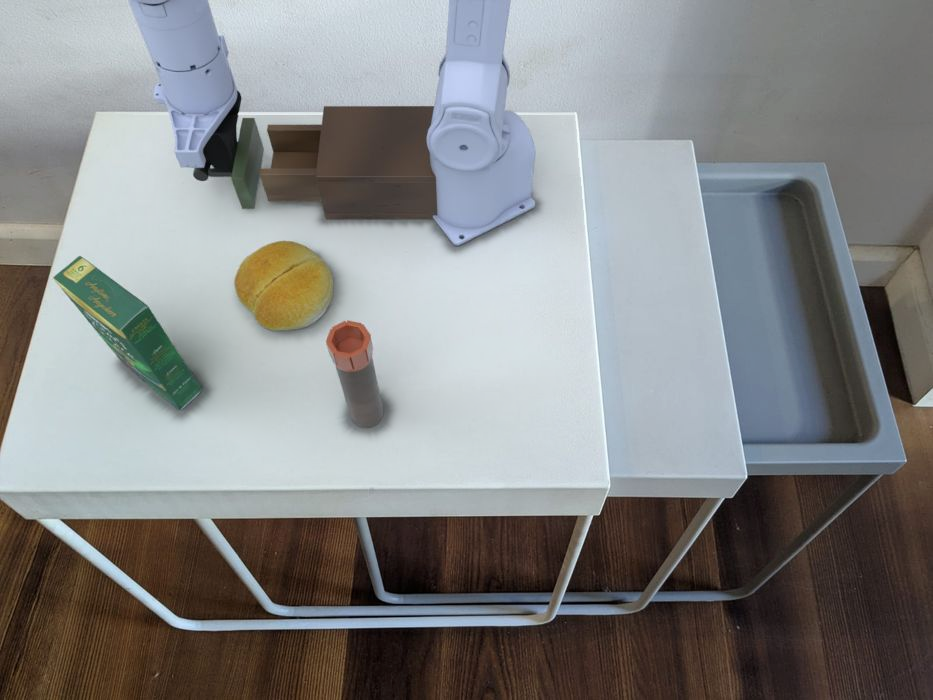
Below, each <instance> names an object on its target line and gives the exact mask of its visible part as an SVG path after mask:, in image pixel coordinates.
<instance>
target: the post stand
mask: <svg viewBox="0 0 933 700" xmlns="http://www.w3.org/2000/svg"><path fill="white" fill-rule="evenodd" d="M335 370H336V372H337V373H336V374H337V376H338V380H339V382H340V383H339V384H340V386H341V389H342V393H343V397H344V399H345V403H346V407H347V410H348V413H349V417H350V419H351V421H352V423H353V424H355V425H356V426H357V427H358V428H362V429H371V428H373V427H375V426H376V425H378V424H379V423H380V422H381V421H382V419H383V417H384V407H383V402H382V398H381V393H380V392H381V391H380V387H379V382H378V378H377V373H376V368H375V363H374V358H373V357H372V359H371V361H370V362H369V364H368V365H367V366H366V367H364V368H363V369H361V370H359V371H355V372H346V371H343V370H341V369H339V368H338V367H336V366H335Z"/></svg>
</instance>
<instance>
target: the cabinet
mask: <svg viewBox="0 0 933 700" xmlns="http://www.w3.org/2000/svg"><path fill="white" fill-rule="evenodd" d="M433 110H434V105H352V106H351V105H344V106H343V105H325V106H323V109H322V119H321V125H322V127H321V135H320V144H319V152H318V161H317V169H316V180H317V185H318V189H319V193H320V197H321V201H320V202H321V205H322V209H323V213H324V218H325V220H434V219H433V215H437V190H436V176H435V174H434V173H433V171H432V168H431V164H430V151H429V149H428V147H427V133H428V129H429V128H430V126H431V121H432V116H433Z"/></svg>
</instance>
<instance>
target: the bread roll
mask: <svg viewBox="0 0 933 700" xmlns="http://www.w3.org/2000/svg"><path fill="white" fill-rule="evenodd" d="M334 288H335V287H334V278H333V273H332V271H331V268H330V267H329V265H328V264H327V262H325V261H324V259H322V258H321V257H320V256H319V255H318V254H317V253H315V252H314V251H313V250H312V249H310V248H309V247H308V246H306V245H303V244H301V243H298V242H295V241H291V240H279V241H274V242H270V243H268V244H266V245H264V246H261V247H260V248H259V249H256V250H255V251H254V252H252V253H251V254H250V255H247V256H246V257H245V258H244V259H243V260H242V261H241V262H240V264H239V266H238V269H237V270H236V274H235V277H234V289H235V292H236V295H237V298H238V299H239V301H240V302H241V304H242V305H243V306H245V308H247V310H249V311H250V312H251V313H252V314H253V315H254V318H255V320H256V322H257V323H258V324H259V325H260V326H261V327H263V328H264V329H267V330H268V331H274V332H278V331H290V330H298V329H303V328H307V327H309V326H311V325H313V324H314V323H316V322H317V321H318V320H319V319H320V318H321V317H322V316H323V315H324V314H325V313H326V311H327V309H328V308H329V306H330V305H331V302H332V299H333V295H334Z"/></svg>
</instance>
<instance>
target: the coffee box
mask: <svg viewBox="0 0 933 700" xmlns="http://www.w3.org/2000/svg"><path fill="white" fill-rule="evenodd" d="M52 279H53V281H54V283H56V284H57V285H58V287H59V288H60V289H61V290H62V291H63V292H64V294H65V295H66V296H67V297H68V299H69V300H70V301H71V303H73V305H74V306H75V307H76V309H78V311H79V312H80V313H81V314H82V316H83V317H84V318H85V319H86V320H87V322H88V323H89V324H90V325H91V327H92V328H93V329H94V331H96V333H97V334H98V335H99V336H100V337H101V339H102V340H103V341H104V342H105V344H106V345H107V346H108V347H109V348H110V350H111V351H112V352H113V354H115V356H116V357H117V358H118V359H119V361H120V362H121V364H123V365H124V366H125V367H127V369H129V370H130V371H131V372H132V373H134V374H135V375H136V377H138V378H139V379H141V380H142V381H143V382H144V383H146V385H148V386H149V387H150V388H151V389H152V390H154V391H155V392H156V393H157V394H159V396H161V397H162V398H163V399H164V400H165V401H166V402H168V403H170V404H171V405H172V406H173V407H174V408H176V409H177V410H178V411H182V410H183V409H184V408H186V407H187V406H188V405H189V404H190V403H191V402H192V401H194V399H196V398H197V396H198V395H200V393H201V392H202V390H203V389H202V386H201V385H200V383H199V382H198V381H197V379H196V377H195V376H194V375H193V373H192V371H191V370H190V368H189V367H188V365H187V364H186V362H185V361H184V359H183V358H182V356H181V355H180V353H179V352H178V350H177V348H176V347H175V346H174V344H173V342H172V341H171V340H170V338H169V336H168V334H167V333H166V331H165V330H164V328H163V327H162V325H161V324H160V322H159V320H158V319H157V318H156V316H155V314H154V313H153V311H152V310H151V308H150V307H149V305H148V304H146V303H145V302H144V301H142V300H141V299H139V298H138V296H136V295H134V294H133V293H132V292H130V291H129V290H128V289H127V288H125V287H124V286H122V285H121V284H120V283H118V282H117V281H116V280H114V279H113V278H111V277H110V276H109V275H107V274H106V273H105V272H104V271H102V270H101V269H100V268H98V267H96V266H95V265H94V264H93V263H92V262H90V261H88V260H87V259H86V258H85V257H83V256H81V255H79V256H77V257H76V258H75V259H74V260H72V261H71V262H70V263H69V264H68V265H66V266H65V267H64V268H63V269H62V270H59V272H58V273H56V274H55V275H54V276H53V278H52Z"/></svg>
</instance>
